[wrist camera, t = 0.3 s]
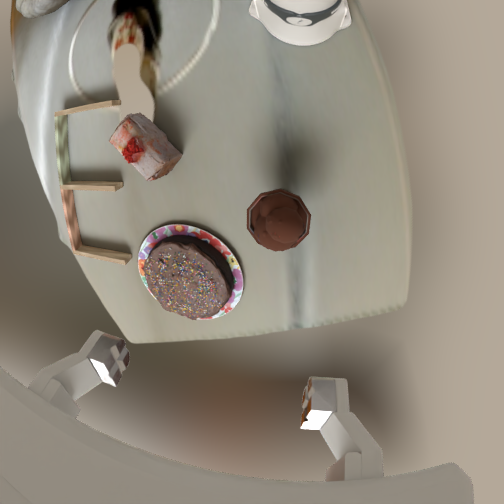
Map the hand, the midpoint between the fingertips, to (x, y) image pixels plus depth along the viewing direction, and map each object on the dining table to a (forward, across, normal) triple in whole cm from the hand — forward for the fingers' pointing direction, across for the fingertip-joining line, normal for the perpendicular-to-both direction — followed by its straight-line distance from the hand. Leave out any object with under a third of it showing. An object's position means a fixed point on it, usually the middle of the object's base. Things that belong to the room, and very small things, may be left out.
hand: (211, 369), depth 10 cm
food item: (+46, +26, -2) cm, 52 cm away
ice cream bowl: (+45, -1, +8) cm, 46 cm away
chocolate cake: (+46, +19, +29) cm, 57 cm away
